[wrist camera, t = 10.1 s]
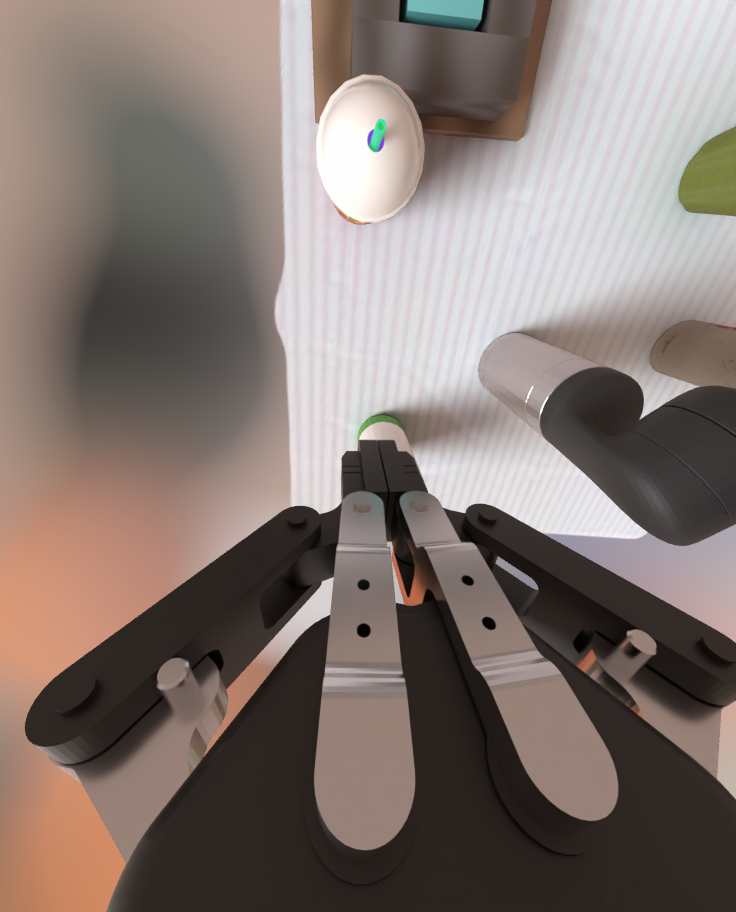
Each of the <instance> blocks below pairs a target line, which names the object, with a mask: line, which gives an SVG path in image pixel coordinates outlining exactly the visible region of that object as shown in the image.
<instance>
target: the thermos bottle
mask: <svg viewBox="0 0 736 912" xmlns="http://www.w3.org/2000/svg"><path fill="white" fill-rule="evenodd" d="M650 363H651V366H652V368H653V369H654V370H655V371H657V372H659V373H662V374H665V375H668V376H671V377H674V378H677V379H679V380H682V381H685V382H688V383H691V384H694V385H697V386H701V387H703V386H724V387H729V388H734V389H736V328H734V327H728V326H722V325H717V324H711V323H705V322H699V321H684V322H681V323H678V324H676V325H675V326H673V327H671V328H670V329H669V330H667V331H666V332H665V333H664V334H663V335H662V336H661V337H660V338H659V339H658V341H657V342H656V344H655V345H654V347H653V350H652V352H651V356H650Z"/></svg>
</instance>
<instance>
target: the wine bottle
mask: <svg viewBox="0 0 736 912" xmlns="http://www.w3.org/2000/svg"><path fill="white" fill-rule="evenodd" d="M359 440H376V441H377V440H395V443H396V446H397V449H398V451H407V452H408V453H409V454H410V455H411V456H412V457H414V455H413V452H412V450H411V447H410V445H409V442H408V440H407V437H406V435H405V433H404V430H403V428H402V426H401V425H400V423H399V422H398V421H397V420H395V419H394V418H392V417H390V416H386V415H378V416H374V417H371V418H369V419H368V420H366V421H365V422H364V423H363V424H362V426H361V428H360V430H359V433H358V441H359ZM414 459H415V457H414ZM415 462H416V460H415ZM416 464H417V462H416ZM417 467H418V465H417ZM418 469H419V467H418ZM419 473H420V474H421V472H420V470H419ZM421 477H422V475H421ZM422 479H423V477H422ZM423 482H424V480H423ZM424 484H425V483H424ZM425 487H426V486H425ZM426 489H427V488H426ZM427 492H428V491H427Z"/></svg>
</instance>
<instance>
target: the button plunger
mask: <svg viewBox="0 0 736 912" xmlns="http://www.w3.org/2000/svg"><path fill="white" fill-rule="evenodd" d="M483 3H484V0H401V15H400V22H402V23H410V24H418V25H426V26H434V27H442V28H451V29H459V30H467V31H475V29H476V27H477V26H478V24H479V22H480V21H481V17H482V10H483Z"/></svg>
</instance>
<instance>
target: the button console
mask: <svg viewBox="0 0 736 912" xmlns="http://www.w3.org/2000/svg"><path fill="white" fill-rule="evenodd" d="M551 3H552V0H484V3H483V10H482V17H481V21H480V22H479V24H478V26H477V27H476V29H475V31H467V30H459V29H451V28H442V27H434V26H426V25H418V24H410V23H402V22H400V15H401V0H311V9H312V39H313V69H314V99H315V121H316V123H319V121H320V117H321V114H322V112H323V110H324V108H325V106H326V104H327V102H328V100H329V98H330V96H331V95H332V94H333V93H334V92H335V91H336V90H337V89H338V88H339V87H340V86H341V85H342V84H343V83H344V82H345V81H347V80H350V79H352V78H355V77H357V76H360V75H362V74H368V75H382V76H384V77H385V78H387V79H389V80H390V81H392V82H394V83H396V84H397V85H399V86H400V87H401V89H402V90H403V91H404V92H405V93H406V95H407V96H408V97H409V98H410V99H411V101H412V102H413V104H414V107H415V109H416V111H417V114H418V116H419V119H420V121H421V124H422V131H423V133H433V134H444V135H455V136H466V137H477V138H489V139H500V140H511V141H518V140H519V139H521V138H522V136H523V132H524V127H525V122H526V118H527V113H528V109H529V104H530V99H531V95H532V90H533V86H534V81H535V76H536V72H537V67H538V63H539V58H540V53H541V49H542V44H543V40H544V35H545V30H546V26H547V21H548V17H549V12H550V7H551Z"/></svg>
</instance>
